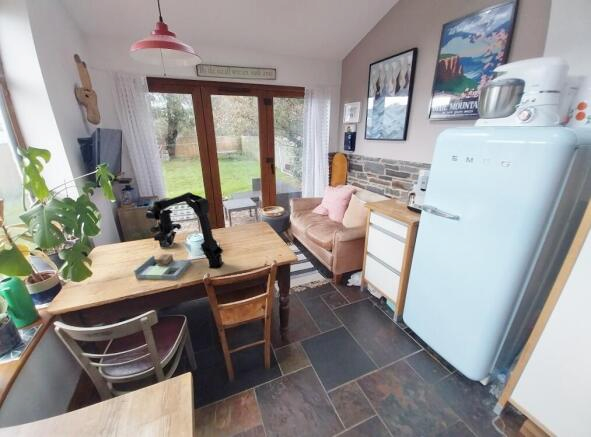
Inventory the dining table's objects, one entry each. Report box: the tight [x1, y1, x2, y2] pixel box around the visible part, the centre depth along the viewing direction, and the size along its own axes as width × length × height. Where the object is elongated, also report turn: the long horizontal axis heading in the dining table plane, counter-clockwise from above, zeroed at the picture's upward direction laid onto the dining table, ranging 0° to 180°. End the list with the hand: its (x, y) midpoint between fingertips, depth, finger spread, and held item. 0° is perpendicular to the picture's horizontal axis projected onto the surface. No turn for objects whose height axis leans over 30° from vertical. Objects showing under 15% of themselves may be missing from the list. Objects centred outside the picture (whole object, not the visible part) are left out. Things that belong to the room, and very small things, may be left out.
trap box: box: [133, 254, 192, 280], centre depth 136 cm, size 23×16×5 cm
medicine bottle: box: [158, 231, 175, 249], centre depth 164 cm, size 7×7×12 cm
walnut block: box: [155, 253, 174, 266], centre depth 139 cm, size 6×6×4 cm
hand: (171, 244), depth 144 cm, fingers closed
